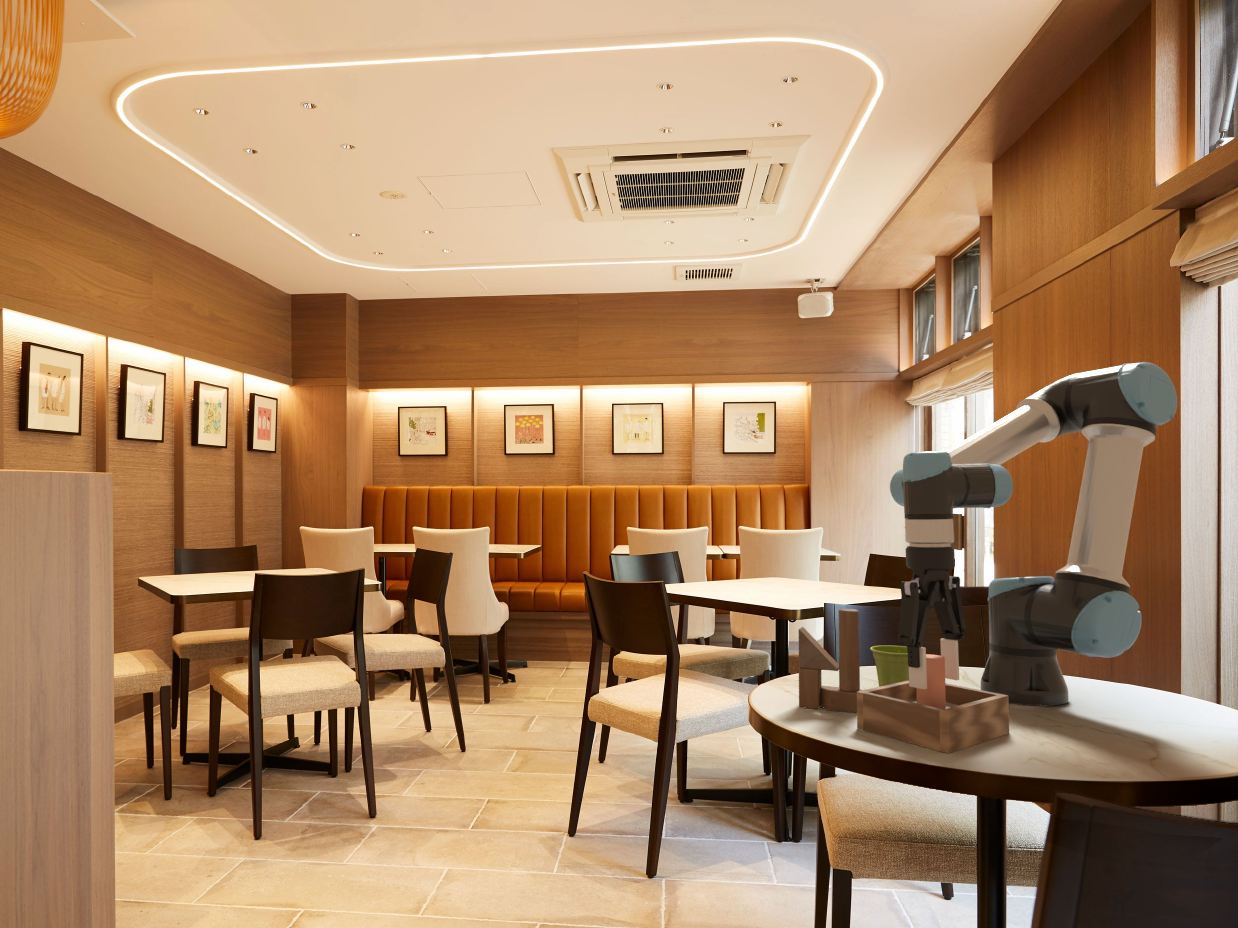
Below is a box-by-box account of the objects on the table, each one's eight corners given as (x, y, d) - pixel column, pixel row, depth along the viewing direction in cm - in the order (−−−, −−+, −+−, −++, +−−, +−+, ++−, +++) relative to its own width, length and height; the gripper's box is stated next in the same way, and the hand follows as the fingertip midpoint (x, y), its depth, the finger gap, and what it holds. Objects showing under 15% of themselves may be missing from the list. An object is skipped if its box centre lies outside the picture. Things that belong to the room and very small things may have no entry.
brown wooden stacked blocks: (802, 703, 146) (801, 605, 147) (862, 709, 142) (861, 609, 143) (798, 707, 143) (797, 607, 144) (859, 714, 138) (858, 611, 139)
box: (920, 712, 140) (919, 677, 140) (1009, 733, 127) (1008, 695, 127) (857, 728, 129) (856, 691, 129) (947, 753, 116) (946, 712, 117)
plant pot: (860, 690, 156) (860, 646, 156) (895, 686, 160) (894, 643, 161) (896, 701, 148) (896, 654, 148) (932, 696, 152) (931, 650, 152)
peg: (926, 725, 131) (925, 653, 132) (951, 731, 127) (950, 657, 128) (911, 730, 128) (910, 656, 129) (936, 736, 125) (935, 660, 125)
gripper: (944, 541, 139) (949, 669, 138) (870, 547, 126) (875, 689, 125) (985, 542, 133) (991, 677, 132) (912, 549, 120) (917, 697, 119)
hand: (934, 682), depth 129 cm, fingers open, 9 cm apart
